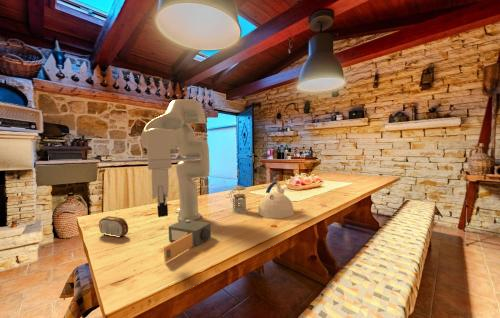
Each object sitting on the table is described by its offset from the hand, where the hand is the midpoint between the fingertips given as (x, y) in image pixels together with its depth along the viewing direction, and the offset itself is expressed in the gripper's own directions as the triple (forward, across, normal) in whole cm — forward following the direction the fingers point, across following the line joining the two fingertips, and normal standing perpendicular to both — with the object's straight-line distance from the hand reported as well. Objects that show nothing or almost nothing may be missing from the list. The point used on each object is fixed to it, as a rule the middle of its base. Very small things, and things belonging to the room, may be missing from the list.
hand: (163, 215), depth 75 cm
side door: (+14, +3, +5) cm, 15 cm away
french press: (+16, -39, +40) cm, 58 cm away
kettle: (+16, -26, +58) cm, 66 cm away
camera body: (+14, -10, +10) cm, 20 cm away
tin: (+15, -28, -22) cm, 39 cm away
